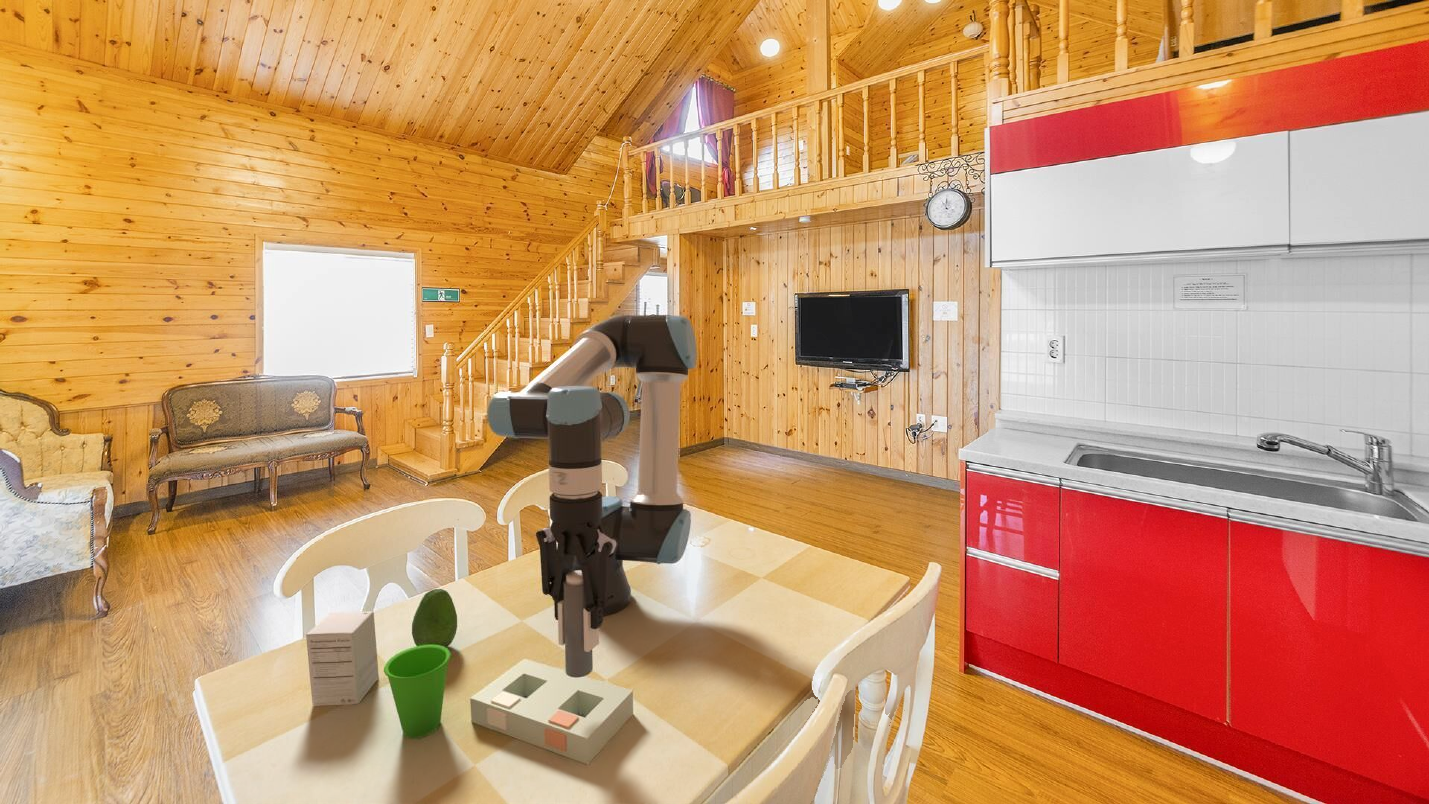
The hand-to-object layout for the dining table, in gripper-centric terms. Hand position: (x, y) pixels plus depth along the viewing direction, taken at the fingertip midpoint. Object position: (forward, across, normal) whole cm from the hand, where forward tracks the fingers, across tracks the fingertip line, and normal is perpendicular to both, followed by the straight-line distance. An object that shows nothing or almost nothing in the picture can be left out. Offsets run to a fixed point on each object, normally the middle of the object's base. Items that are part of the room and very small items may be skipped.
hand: (578, 643), depth 88 cm
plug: (+4, 0, 0) cm, 4 cm away
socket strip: (+14, -6, 0) cm, 15 cm away
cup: (+14, -23, -10) cm, 28 cm away
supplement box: (+14, -42, -8) cm, 45 cm away
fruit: (+14, -39, +7) cm, 42 cm away
